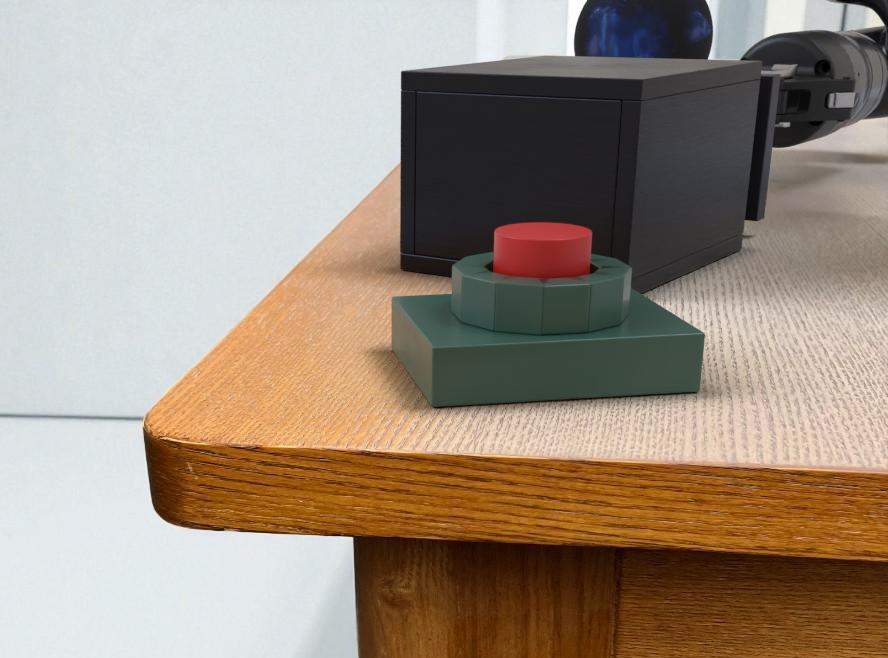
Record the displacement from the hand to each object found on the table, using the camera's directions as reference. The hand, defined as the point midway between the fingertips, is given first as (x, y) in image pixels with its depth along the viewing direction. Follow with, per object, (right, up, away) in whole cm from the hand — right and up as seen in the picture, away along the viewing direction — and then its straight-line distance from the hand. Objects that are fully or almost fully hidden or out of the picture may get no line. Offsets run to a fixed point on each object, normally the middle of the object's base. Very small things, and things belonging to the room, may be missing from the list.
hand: (707, 106), depth 78 cm
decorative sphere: (+11, +22, +67) cm, 72 cm away
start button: (-15, -17, -30) cm, 37 cm away
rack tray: (-5, -8, -4) cm, 11 cm away
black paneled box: (-10, -12, -9) cm, 18 cm away
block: (-15, -20, -29) cm, 38 cm away
